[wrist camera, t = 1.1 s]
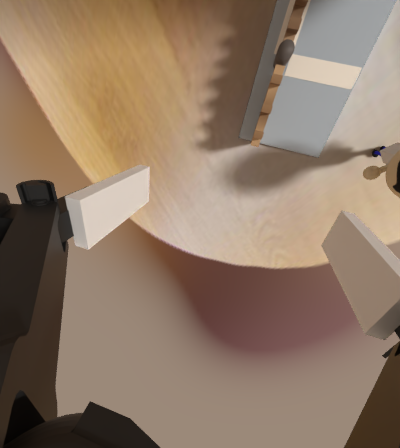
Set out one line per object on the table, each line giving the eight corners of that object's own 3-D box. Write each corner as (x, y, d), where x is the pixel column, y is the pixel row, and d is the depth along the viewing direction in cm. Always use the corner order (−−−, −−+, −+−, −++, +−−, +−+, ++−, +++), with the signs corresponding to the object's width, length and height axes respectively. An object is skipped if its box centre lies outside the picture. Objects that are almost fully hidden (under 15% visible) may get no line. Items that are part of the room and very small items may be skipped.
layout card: (284, -25, 22) (284, -28, 22) (399, -8, 21) (401, -10, 20) (238, 137, 31) (238, 137, 30) (317, 157, 29) (318, 157, 29)
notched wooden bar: (272, 72, 26) (276, 61, 20) (280, 74, 25) (287, 63, 20) (250, 141, 30) (250, 146, 25) (258, 142, 30) (258, 148, 25)
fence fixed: (302, -31, 22) (318, -81, 16) (317, -29, 21) (338, -79, 16) (271, 70, 26) (275, 58, 21) (283, 73, 26) (290, 61, 20)
